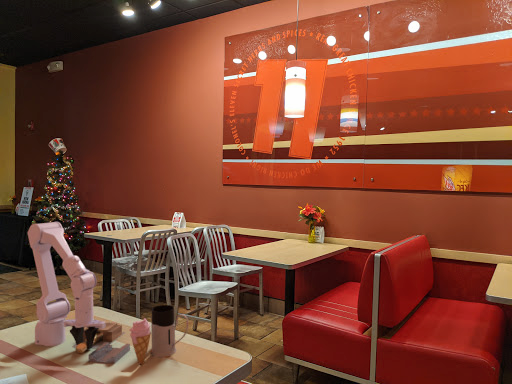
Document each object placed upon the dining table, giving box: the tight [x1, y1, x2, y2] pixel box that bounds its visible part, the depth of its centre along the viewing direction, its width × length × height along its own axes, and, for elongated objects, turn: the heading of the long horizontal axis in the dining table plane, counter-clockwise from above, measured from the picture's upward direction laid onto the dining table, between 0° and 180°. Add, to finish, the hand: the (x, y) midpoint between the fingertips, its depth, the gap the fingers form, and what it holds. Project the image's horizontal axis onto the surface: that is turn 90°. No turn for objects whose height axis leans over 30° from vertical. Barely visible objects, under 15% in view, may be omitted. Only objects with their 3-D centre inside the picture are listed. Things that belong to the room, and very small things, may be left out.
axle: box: [74, 331, 103, 355], centre depth 138 cm, size 3×14×3 cm, turn 171°
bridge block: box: [71, 322, 126, 350], centre depth 143 cm, size 12×15×5 cm
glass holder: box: [150, 304, 189, 358], centre depth 133 cm, size 9×14×15 cm, turn 69°
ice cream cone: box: [128, 318, 152, 366], centre depth 125 cm, size 7×6×15 cm
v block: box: [88, 342, 131, 365], centre depth 129 cm, size 9×10×3 cm
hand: (84, 348), depth 134 cm, fingers closed on axle, 3 cm apart
